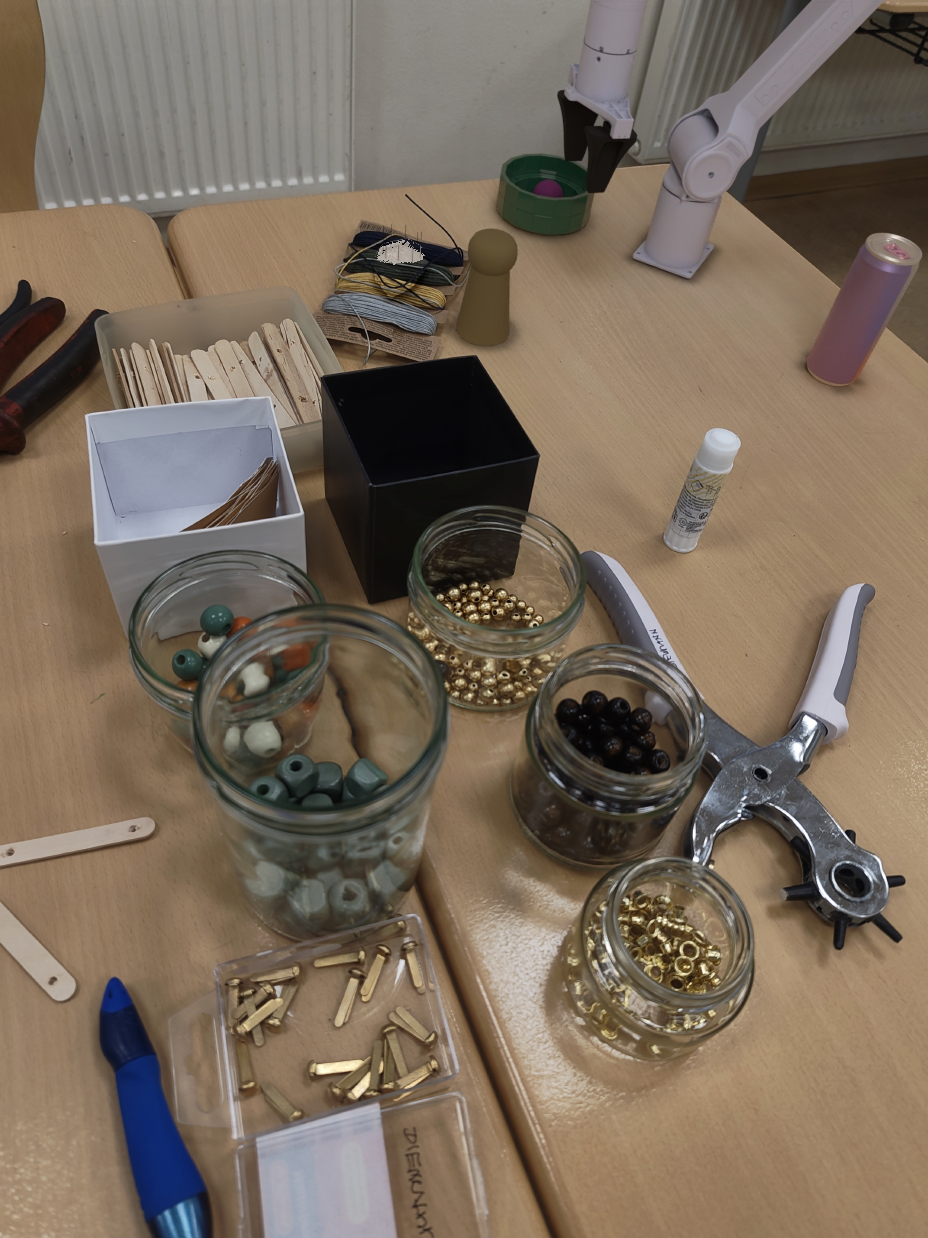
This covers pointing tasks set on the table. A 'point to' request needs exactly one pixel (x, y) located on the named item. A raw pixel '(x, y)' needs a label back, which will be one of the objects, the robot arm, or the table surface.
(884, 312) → the beverage can
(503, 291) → the olive brown pawn
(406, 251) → the pincushion
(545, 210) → the bowl
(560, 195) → the ball
